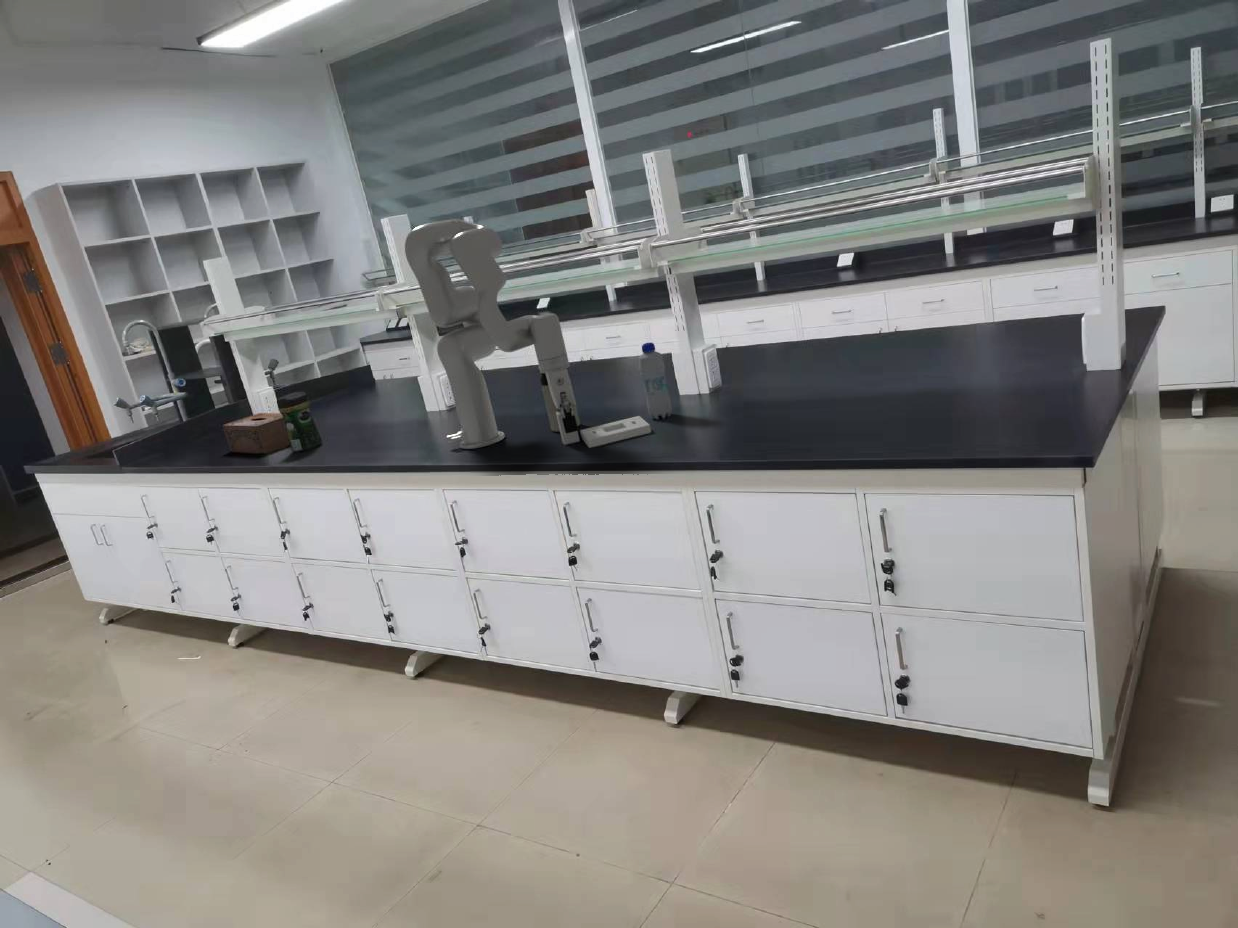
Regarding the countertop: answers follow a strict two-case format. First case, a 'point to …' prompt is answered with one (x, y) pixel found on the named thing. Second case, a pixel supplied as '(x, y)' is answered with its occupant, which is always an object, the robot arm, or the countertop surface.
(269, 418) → the tissue box cover
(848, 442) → the countertop surface
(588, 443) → the outlet plate
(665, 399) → the bottle
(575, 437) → the charger
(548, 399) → the travel mug
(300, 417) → the coffee jar
